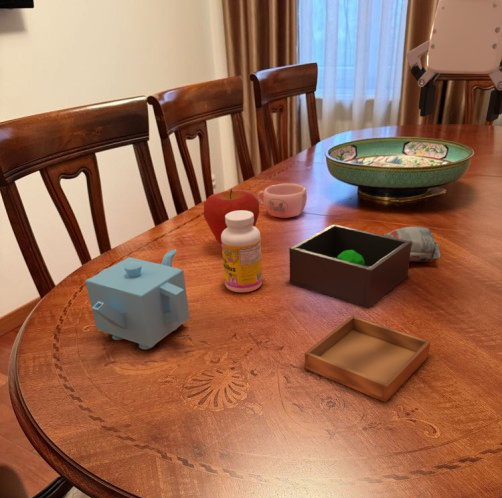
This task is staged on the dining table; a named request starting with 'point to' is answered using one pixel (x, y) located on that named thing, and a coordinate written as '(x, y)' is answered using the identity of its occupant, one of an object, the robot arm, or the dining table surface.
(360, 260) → the polyhedron
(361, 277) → the dark brown open box
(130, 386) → the dining table surface
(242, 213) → the supplement bottle
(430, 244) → the packaged food
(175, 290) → the teapot
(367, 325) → the tray
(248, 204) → the apple
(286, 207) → the mug
